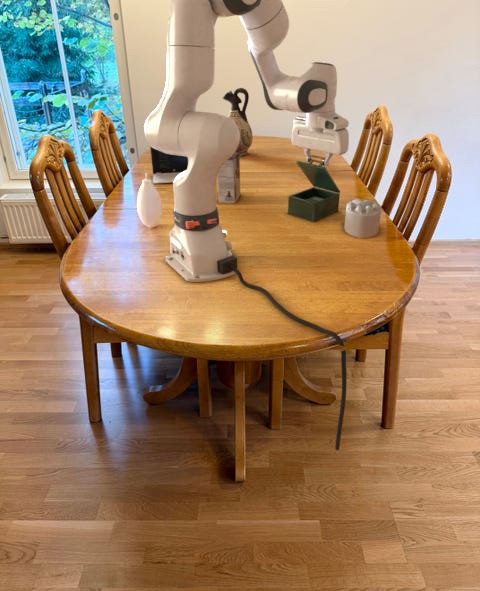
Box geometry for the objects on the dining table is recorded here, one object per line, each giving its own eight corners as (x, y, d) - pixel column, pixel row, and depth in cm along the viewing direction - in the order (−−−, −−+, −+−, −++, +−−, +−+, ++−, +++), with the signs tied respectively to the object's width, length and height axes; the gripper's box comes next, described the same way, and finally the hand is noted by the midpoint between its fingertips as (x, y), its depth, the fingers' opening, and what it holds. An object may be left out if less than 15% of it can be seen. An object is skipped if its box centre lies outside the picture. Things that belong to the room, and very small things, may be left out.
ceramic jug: (216, 157, 232) (213, 89, 217) (226, 149, 245) (224, 84, 230) (250, 159, 228) (250, 90, 212) (259, 151, 240) (259, 85, 225)
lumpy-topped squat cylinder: (376, 222, 158) (379, 196, 154) (379, 238, 147) (383, 211, 143) (343, 221, 160) (346, 195, 155) (344, 237, 149) (347, 209, 144)
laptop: (152, 184, 196) (149, 151, 189) (153, 175, 207) (149, 144, 200) (197, 182, 198) (195, 149, 191) (195, 173, 209) (193, 142, 202)
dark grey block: (310, 216, 162) (311, 206, 160) (296, 212, 165) (297, 202, 163) (327, 209, 167) (328, 199, 165) (313, 205, 171) (314, 195, 169)
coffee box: (223, 194, 184) (222, 151, 176) (240, 195, 183) (240, 152, 175) (218, 202, 177) (216, 158, 169) (235, 203, 176) (234, 158, 167)
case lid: (323, 168, 153) (331, 155, 153) (296, 162, 160) (303, 149, 160) (339, 193, 164) (346, 181, 165) (313, 186, 171) (319, 174, 171)
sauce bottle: (140, 232, 154) (133, 176, 145) (138, 223, 160) (131, 169, 151) (165, 229, 155) (160, 173, 146) (162, 220, 162) (157, 166, 153)
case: (313, 222, 159) (315, 203, 156) (287, 213, 166) (288, 196, 163) (338, 211, 168) (339, 193, 164) (312, 203, 174) (313, 186, 171)
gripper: (287, 116, 156) (286, 160, 163) (341, 125, 144) (337, 171, 151) (300, 113, 160) (298, 156, 167) (353, 122, 147) (349, 167, 155)
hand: (317, 163), depth 159 cm, fingers closed on case lid, 5 cm apart
